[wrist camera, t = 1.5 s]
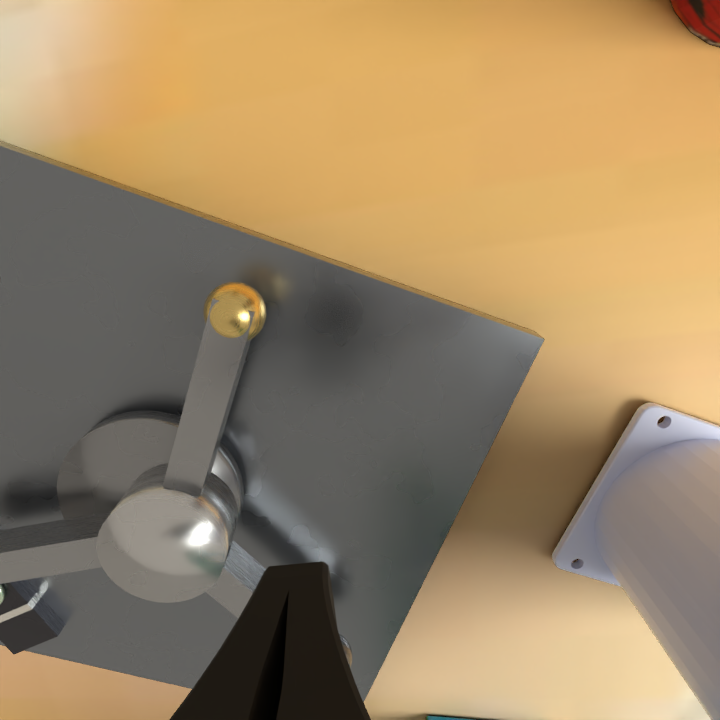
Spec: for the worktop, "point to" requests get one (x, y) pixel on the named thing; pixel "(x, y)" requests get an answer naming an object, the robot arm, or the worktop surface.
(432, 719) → the milk carton
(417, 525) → the plate
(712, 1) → the deodorant
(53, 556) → the capstan
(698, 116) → the worktop surface
